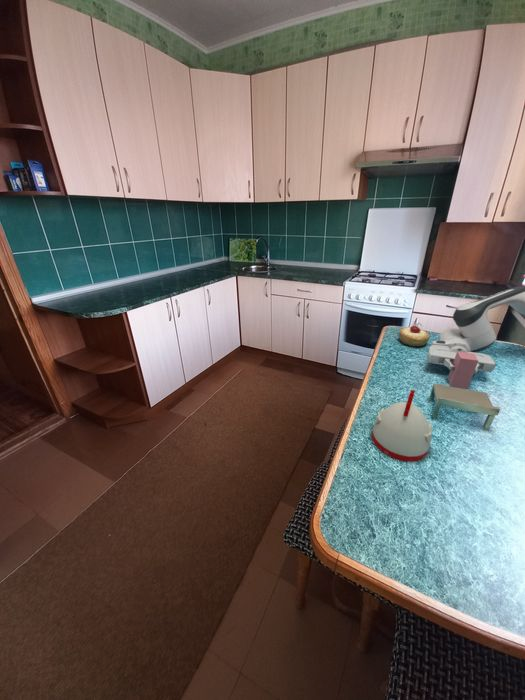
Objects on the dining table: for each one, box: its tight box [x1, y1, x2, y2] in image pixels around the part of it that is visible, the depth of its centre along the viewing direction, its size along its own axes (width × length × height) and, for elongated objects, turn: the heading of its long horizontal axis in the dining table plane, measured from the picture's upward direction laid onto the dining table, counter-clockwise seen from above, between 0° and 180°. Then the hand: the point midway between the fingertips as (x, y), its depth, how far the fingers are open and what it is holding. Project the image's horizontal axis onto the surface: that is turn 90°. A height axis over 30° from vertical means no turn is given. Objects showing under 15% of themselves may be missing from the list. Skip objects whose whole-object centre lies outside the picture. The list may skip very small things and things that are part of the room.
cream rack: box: [428, 383, 501, 431], centre depth 84 cm, size 14×11×8 cm
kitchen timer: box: [371, 389, 433, 462], centre depth 74 cm, size 14×14×15 cm
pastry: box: [398, 322, 431, 348], centre depth 127 cm, size 12×12×9 cm
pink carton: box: [447, 351, 478, 390], centre depth 98 cm, size 5×5×11 cm
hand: (463, 369), depth 97 cm, fingers closed on pink carton, 5 cm apart
